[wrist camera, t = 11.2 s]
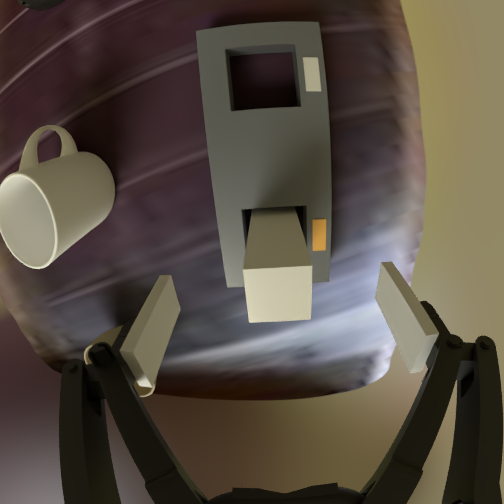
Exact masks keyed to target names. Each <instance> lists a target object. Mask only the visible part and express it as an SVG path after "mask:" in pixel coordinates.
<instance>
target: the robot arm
mask: <svg viewBox="0 0 504 504" xmlns="http://www.w3.org/2000/svg"><path fill="white" fill-rule="evenodd" d="M63 1H65V0H18V2H19V3H20V4H21V5H22V6H24V7H26V8H30V9H34V10H46V9H49V8H52V7H54V6H56V5H58V4H60V3H61V2H63ZM375 299H376V301H377V303H378V305H379V307H380V309H381V311H382V313H383V315H384V317H385V319H386V322H387V324H388V326H389V328H390V330H391V332H392V334H393V337H394V339H395V341H396V343H397V346H398V348H399V350H400V352H401V355H402V357H403V359H404V362H405V364H406V366H407V369H408V371H409V373H410V374H411V373H415V372H420V371H422V370H423V368H424V365H425V364H426V365H427V368H428V370H427V372H426V374H425V376H424V378H423V380H422V384H421V387H420V389H419V392H418V394H417V396H416V398H415V401H414V403H413V405H412V407H411V409H410V411H409V413H408V415H407V417H406V419H405V421H404V423H403V425H402V427H401V429H400V431H399V433H398V435H397V437H396V439H395V440H394V442H393V444H392V445H391V448H390V449H389V451H388V453H387V454H386V456H385V458H384V459H383V461H382V462H381V464H380V466H379V467H378V469H377V470H376V472H375V473H374V475H373V476H372V477H371V479H370V480H369V481H368V482H367V484H366V485H365V486H364V488H363V489H362V490H361V492H360V493H359V492H357V491H355V490H352V489H349V488H344V487H338V485H337V483H331V484H324V485H315V486H310V487H307V488H303V489H300V490H297V491H293V492H290V493H279V492H273V491H268V490H263V489H258V488H233V490H232V492H229V493H225V494H221V495H219V496H216V497H214V498H212V499H211V500H208V498H207V497H206V496H205V495H204V494H203V492H202V491H201V490H200V489H199V488H198V487H197V486H196V485H195V483H194V482H193V481H192V479H191V478H190V477H189V475H188V474H187V472H186V471H185V470H184V468H183V467H182V465H181V464H180V463H179V461H178V460H177V458H176V457H175V455H174V454H173V452H172V451H171V449H170V448H169V446H168V444H167V443H166V441H165V440H164V438H163V437H162V435H161V433H160V432H159V430H158V428H157V427H156V425H155V423H154V422H153V420H152V418H151V416H150V415H149V413H148V411H147V409H146V407H145V406H144V404H143V402H142V400H141V398H140V396H139V394H138V392H137V390H136V389H135V387H134V383H135V380H136V381H137V382H138V384H139V386H143V387H151V388H153V385H154V382H155V379H156V376H157V373H158V370H159V367H160V364H161V361H162V359H163V356H164V353H165V350H166V347H167V345H168V342H169V339H170V336H171V334H172V331H173V328H174V326H175V323H176V320H177V318H178V315H179V312H180V310H181V309H180V306H179V302H178V299H177V295H176V292H175V288H174V285H173V281H172V277H171V275H160V276H159V278H158V280H157V282H156V283H155V285H154V287H153V289H152V290H151V292H150V294H149V296H148V298H147V299H146V301H145V303H144V305H143V307H142V309H141V310H140V312H139V314H138V316H137V318H130V319H129V320H128V321H127V322H125V323H124V325H123V326H122V328H121V330H120V332H119V334H118V337H116V339H115V341H114V343H113V345H112V347H111V346H110V345H109V343H106V342H99V343H96V344H94V345H93V346H92V347H91V348H90V349H89V351H88V357H89V359H90V360H91V362H92V363H93V364H86V365H84V364H83V363H82V362H81V361H80V360H79V359H72V360H69V361H68V362H67V363H65V365H64V366H63V369H62V379H61V391H60V410H59V448H60V466H61V478H62V487H63V495H64V502H65V504H121V501H120V497H119V493H118V489H117V484H116V479H115V475H114V469H113V464H112V459H111V453H110V447H109V440H108V433H107V424H106V415H105V404H104V399H106V400H107V402H108V405H109V408H110V410H111V413H112V415H113V417H114V420H115V422H116V424H117V427H118V429H119V431H120V433H121V435H122V437H123V439H124V442H125V444H126V446H127V448H128V450H129V452H130V454H131V456H132V458H133V460H134V462H135V464H136V465H137V467H138V469H139V471H140V472H141V475H142V476H143V478H144V479H145V482H146V483H145V487H146V489H147V491H148V493H149V495H150V496H151V498H152V500H153V501H154V503H155V504H406V503H407V502H408V500H409V498H410V496H411V495H412V493H413V491H414V489H415V488H416V486H417V484H418V482H419V480H420V478H421V476H422V473H423V471H422V467H423V465H424V463H425V461H426V459H427V457H428V454H429V452H430V450H431V448H432V446H433V443H434V441H435V439H436V436H437V434H438V431H439V429H440V426H441V424H442V421H443V418H444V416H445V413H446V410H447V407H448V404H449V401H450V398H451V395H452V392H453V388H454V385H455V381H456V380H457V406H456V420H455V431H454V440H453V447H452V454H451V460H450V466H449V471H448V476H447V481H446V485H445V490H444V495H443V499H442V504H502V498H501V490H500V484H499V481H500V473H501V464H502V448H503V406H502V392H501V381H500V372H499V365H498V358H497V352H496V346H495V343H494V342H493V340H492V339H491V338H489V337H487V336H480V337H478V338H477V339H476V341H475V343H465V342H463V341H462V339H461V338H460V337H458V336H456V335H453V334H450V332H449V331H448V329H447V328H446V326H445V324H444V323H443V321H442V320H441V318H439V315H438V314H437V313H436V311H435V309H434V308H433V306H432V305H431V304H429V303H428V302H427V301H421V302H419V300H418V299H417V297H416V296H415V294H414V293H413V291H412V290H411V288H410V287H409V285H408V284H407V282H406V281H405V279H404V278H403V277H402V275H401V274H400V272H399V271H398V270H397V268H396V267H395V265H394V264H393V263H392V262H381V266H380V273H379V279H378V285H377V291H376V296H375Z"/></svg>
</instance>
